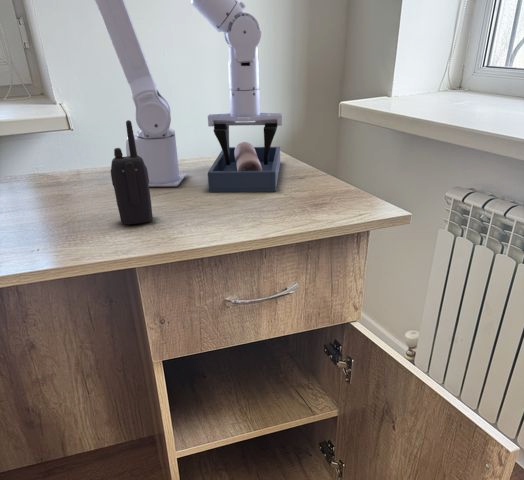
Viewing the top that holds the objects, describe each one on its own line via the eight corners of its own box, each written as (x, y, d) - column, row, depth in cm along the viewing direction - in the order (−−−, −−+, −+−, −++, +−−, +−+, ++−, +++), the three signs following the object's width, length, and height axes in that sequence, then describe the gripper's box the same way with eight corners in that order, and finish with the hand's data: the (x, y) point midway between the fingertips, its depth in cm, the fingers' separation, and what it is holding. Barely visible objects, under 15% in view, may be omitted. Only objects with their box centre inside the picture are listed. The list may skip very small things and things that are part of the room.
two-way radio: (153, 217, 82) (138, 118, 74) (157, 225, 79) (142, 122, 70) (119, 221, 81) (100, 120, 73) (121, 230, 77) (102, 125, 69)
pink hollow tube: (263, 160, 93) (256, 142, 108) (238, 159, 92) (234, 140, 107) (261, 186, 95) (254, 164, 110) (237, 184, 95) (233, 163, 110)
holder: (209, 192, 94) (207, 172, 92) (224, 164, 113) (223, 147, 111) (275, 191, 93) (275, 171, 91) (280, 163, 112) (280, 146, 110)
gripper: (202, 92, 91) (208, 168, 99) (281, 90, 90) (282, 168, 98) (209, 88, 97) (214, 160, 104) (283, 86, 96) (283, 160, 104)
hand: (247, 163), depth 101 cm, fingers open, 7 cm apart
